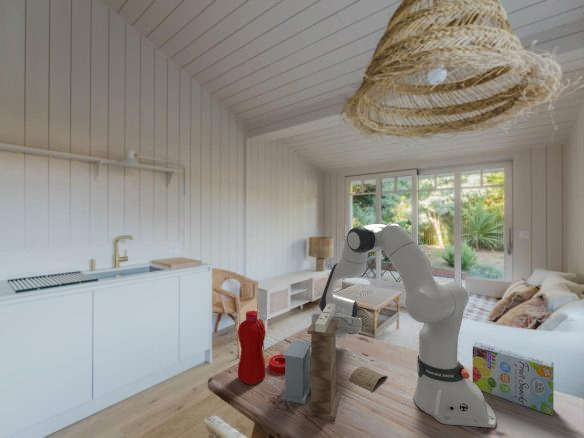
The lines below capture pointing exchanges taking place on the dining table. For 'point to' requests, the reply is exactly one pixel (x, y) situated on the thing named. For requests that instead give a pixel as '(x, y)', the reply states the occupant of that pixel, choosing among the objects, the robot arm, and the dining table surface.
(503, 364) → the snack box
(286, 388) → the slate stand
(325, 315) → the domino bar
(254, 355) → the water bottle
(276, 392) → the dining table surface
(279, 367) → the decorative ornament
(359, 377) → the clay tablet
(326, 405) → the walnut pedestal
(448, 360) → the robot arm
